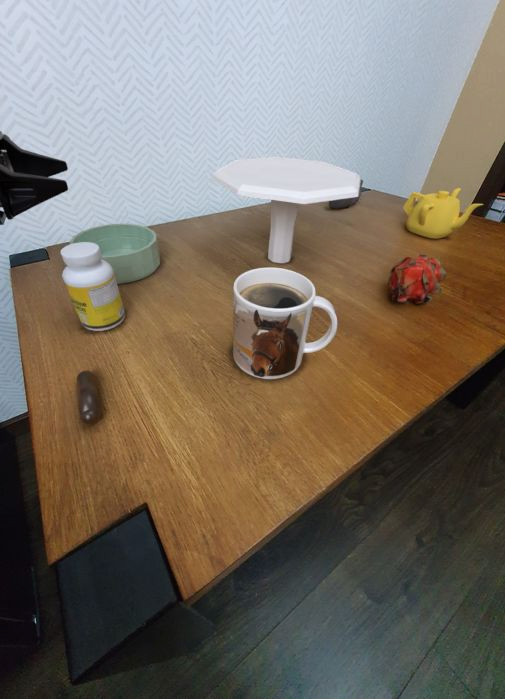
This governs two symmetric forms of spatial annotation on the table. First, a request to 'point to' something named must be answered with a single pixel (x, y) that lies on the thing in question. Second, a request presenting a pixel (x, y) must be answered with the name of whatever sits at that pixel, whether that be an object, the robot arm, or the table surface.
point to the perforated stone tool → (345, 200)
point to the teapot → (435, 213)
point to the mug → (275, 321)
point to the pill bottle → (92, 286)
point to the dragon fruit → (416, 279)
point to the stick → (88, 398)
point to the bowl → (125, 249)
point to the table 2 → (287, 191)
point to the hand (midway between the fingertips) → (67, 174)
